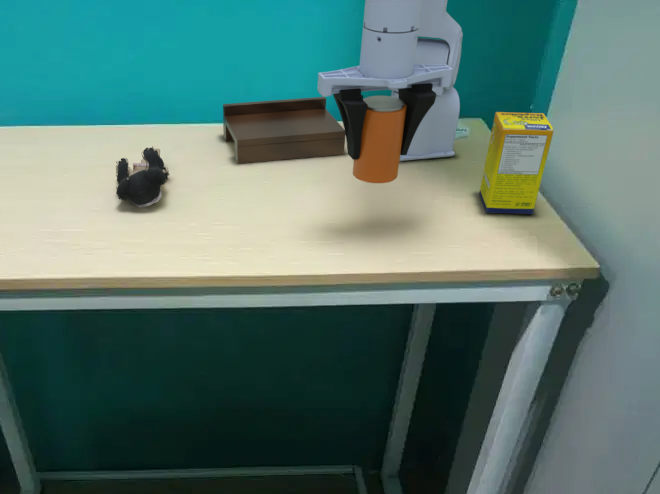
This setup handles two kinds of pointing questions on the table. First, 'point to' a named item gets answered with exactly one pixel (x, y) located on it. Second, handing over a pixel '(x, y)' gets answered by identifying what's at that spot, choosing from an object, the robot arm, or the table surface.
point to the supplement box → (515, 162)
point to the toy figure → (142, 178)
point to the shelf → (282, 130)
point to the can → (381, 140)
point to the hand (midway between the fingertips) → (376, 154)
